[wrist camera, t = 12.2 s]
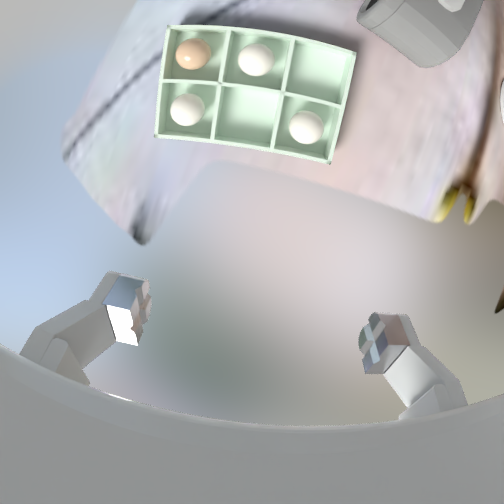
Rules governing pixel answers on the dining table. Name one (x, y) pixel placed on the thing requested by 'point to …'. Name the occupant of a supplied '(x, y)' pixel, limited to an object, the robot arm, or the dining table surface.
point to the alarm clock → (421, 26)
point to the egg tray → (256, 90)
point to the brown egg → (193, 53)
